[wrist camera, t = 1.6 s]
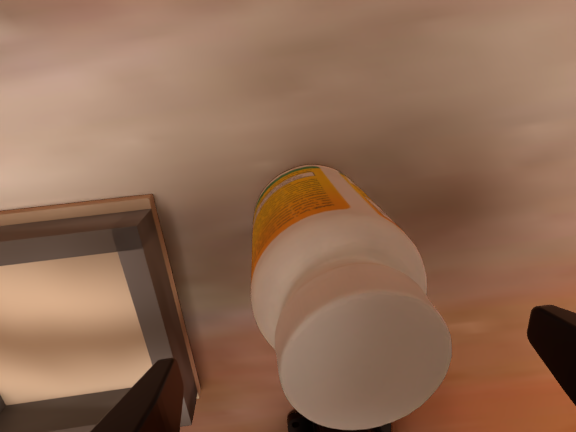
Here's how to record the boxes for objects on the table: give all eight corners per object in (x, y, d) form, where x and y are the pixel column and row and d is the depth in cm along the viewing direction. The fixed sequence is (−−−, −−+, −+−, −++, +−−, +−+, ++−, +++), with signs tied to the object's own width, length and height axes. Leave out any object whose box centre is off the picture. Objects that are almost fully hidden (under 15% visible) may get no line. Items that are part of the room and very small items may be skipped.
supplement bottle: (377, 178, 16) (530, 291, 7) (340, 274, 18) (427, 461, 9) (268, 148, 15) (289, 236, 6) (240, 252, 17) (224, 439, 8)
